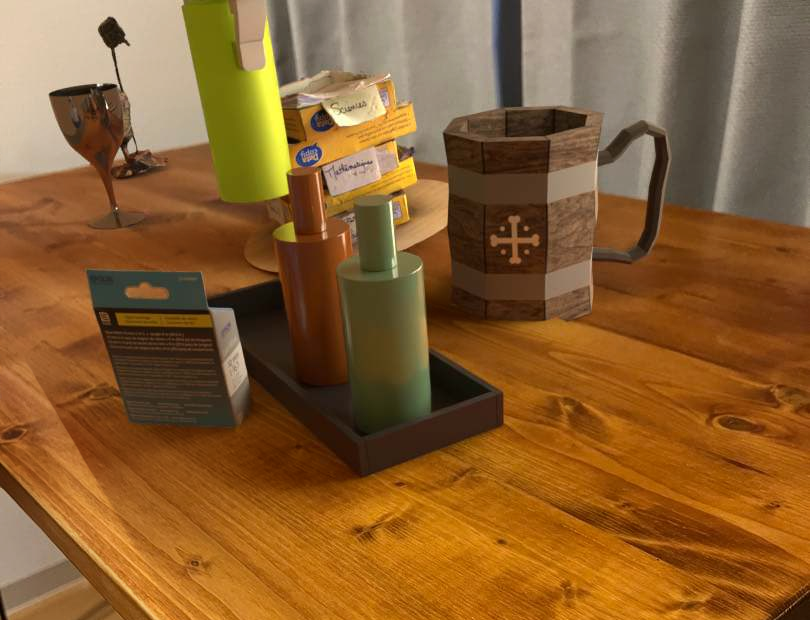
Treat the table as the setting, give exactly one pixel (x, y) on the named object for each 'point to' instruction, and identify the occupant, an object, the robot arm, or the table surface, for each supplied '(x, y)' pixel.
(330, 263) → the amber bottle
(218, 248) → the table surface
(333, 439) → the tray
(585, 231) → the mug
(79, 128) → the wine glass
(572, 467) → the table surface
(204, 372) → the label tape box
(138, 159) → the plant with pod
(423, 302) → the green bottle
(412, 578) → the table surface
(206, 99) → the soap dispenser
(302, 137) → the yellow box stack
